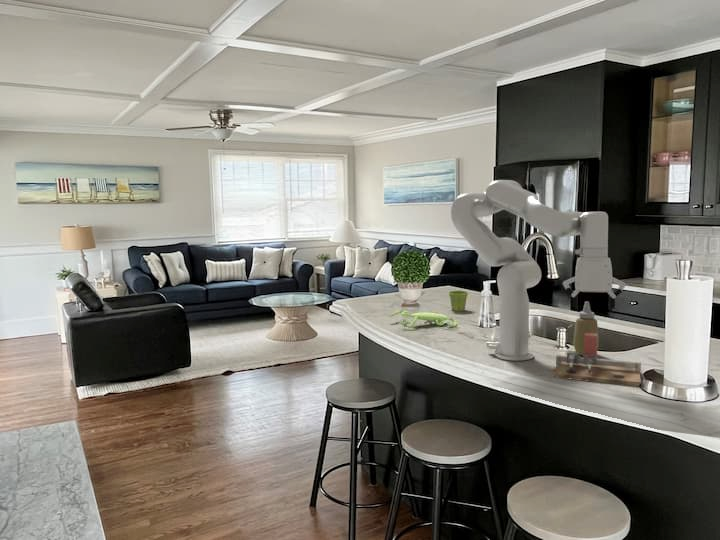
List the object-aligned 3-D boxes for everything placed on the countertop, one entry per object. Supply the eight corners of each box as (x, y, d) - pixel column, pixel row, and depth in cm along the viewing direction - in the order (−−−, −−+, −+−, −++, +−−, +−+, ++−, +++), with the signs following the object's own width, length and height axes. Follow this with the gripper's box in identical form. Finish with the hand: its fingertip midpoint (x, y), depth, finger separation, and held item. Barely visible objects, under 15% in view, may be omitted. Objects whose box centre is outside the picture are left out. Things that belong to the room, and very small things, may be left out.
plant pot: (467, 312, 262) (467, 294, 261) (447, 311, 264) (447, 293, 263) (469, 308, 271) (469, 290, 270) (449, 308, 273) (449, 290, 272)
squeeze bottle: (602, 353, 189) (603, 301, 186) (593, 359, 183) (595, 304, 180) (578, 350, 194) (579, 298, 192) (568, 355, 188) (570, 302, 186)
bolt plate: (553, 377, 165) (553, 373, 165) (558, 364, 178) (558, 360, 178) (640, 386, 156) (641, 382, 156) (638, 372, 168) (639, 368, 168)
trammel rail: (553, 370, 168) (554, 357, 167) (556, 362, 176) (556, 349, 175) (641, 379, 158) (642, 365, 158) (640, 370, 166) (640, 356, 166)
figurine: (387, 322, 247) (387, 309, 246) (446, 318, 251) (446, 306, 250) (397, 331, 229) (396, 318, 228) (459, 327, 232) (459, 314, 232)
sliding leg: (582, 372, 165) (583, 339, 163) (584, 363, 173) (584, 332, 172) (595, 373, 163) (596, 340, 162) (596, 364, 171) (597, 333, 170)
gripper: (561, 254, 166) (561, 311, 168) (626, 254, 159) (625, 314, 161) (563, 252, 173) (563, 307, 175) (625, 252, 166) (624, 309, 168)
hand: (593, 310), depth 168 cm, fingers open, 9 cm apart
